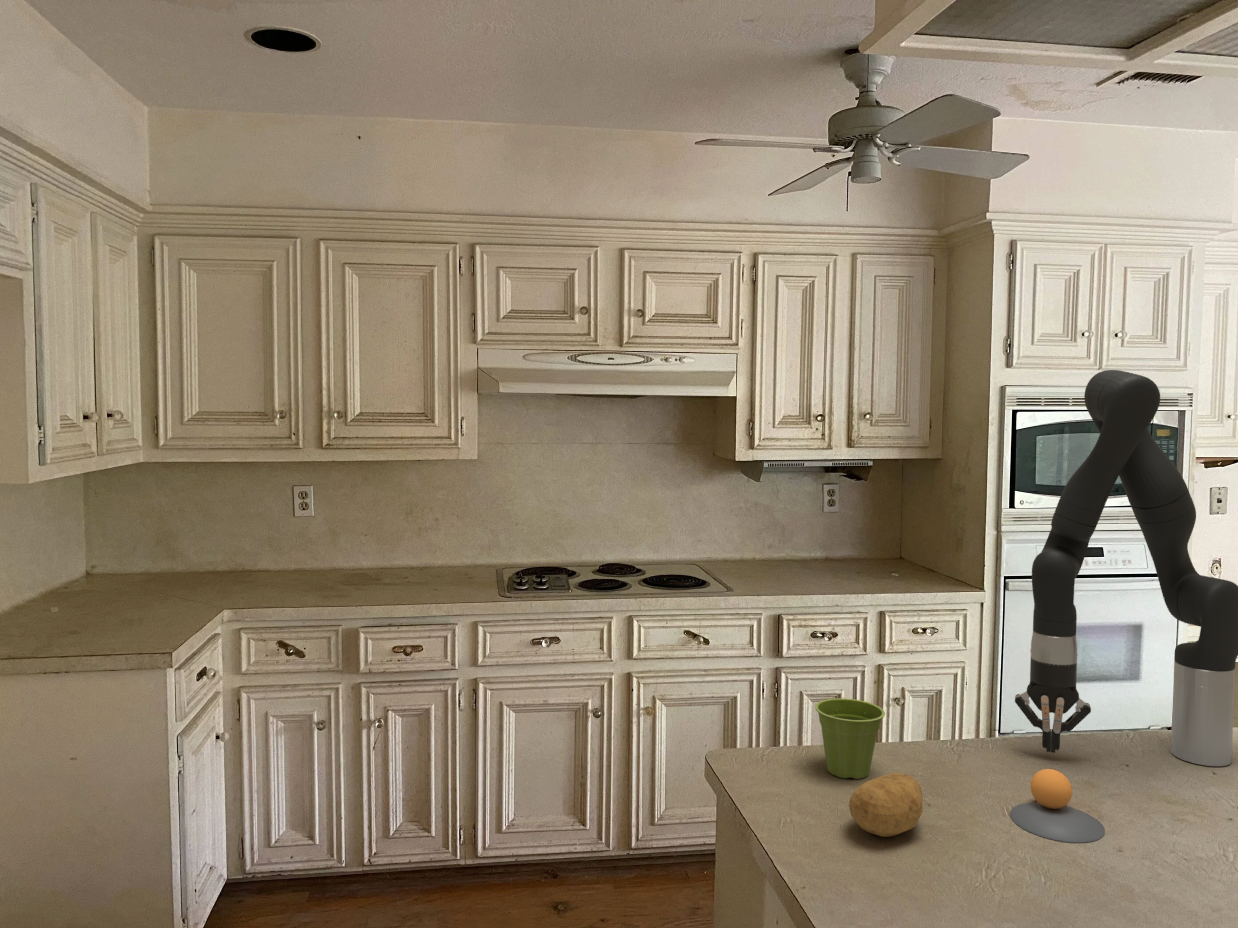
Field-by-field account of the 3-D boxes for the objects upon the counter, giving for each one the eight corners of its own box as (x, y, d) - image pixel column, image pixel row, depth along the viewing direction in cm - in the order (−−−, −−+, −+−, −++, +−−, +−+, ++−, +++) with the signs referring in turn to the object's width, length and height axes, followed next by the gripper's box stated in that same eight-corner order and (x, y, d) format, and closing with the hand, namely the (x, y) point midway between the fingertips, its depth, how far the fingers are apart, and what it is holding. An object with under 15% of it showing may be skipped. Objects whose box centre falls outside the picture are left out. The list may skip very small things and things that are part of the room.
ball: (1044, 757, 143) (1041, 765, 138) (1080, 780, 140) (1079, 790, 135) (1024, 787, 144) (1021, 796, 139) (1060, 811, 141) (1058, 821, 136)
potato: (940, 825, 134) (941, 774, 133) (894, 858, 124) (895, 803, 123) (881, 805, 141) (882, 756, 140) (834, 834, 131) (834, 782, 130)
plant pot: (876, 791, 146) (877, 724, 145) (806, 777, 151) (806, 713, 151) (890, 765, 156) (891, 704, 156) (824, 753, 162) (825, 693, 161)
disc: (1039, 796, 144) (1039, 795, 144) (1121, 827, 133) (1121, 825, 133) (993, 816, 136) (993, 815, 136) (1075, 851, 126) (1075, 850, 126)
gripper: (1012, 657, 158) (1010, 751, 159) (1096, 667, 152) (1093, 764, 153) (1014, 647, 164) (1011, 738, 165) (1094, 656, 159) (1091, 749, 160)
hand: (1050, 750), depth 159 cm, fingers closed
